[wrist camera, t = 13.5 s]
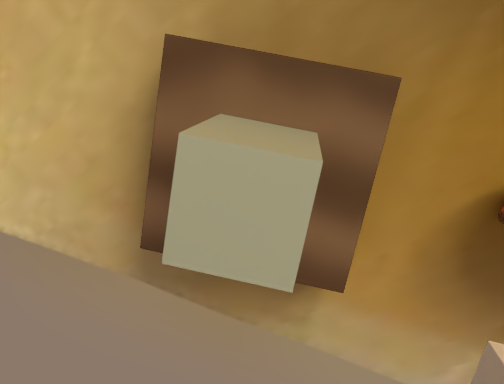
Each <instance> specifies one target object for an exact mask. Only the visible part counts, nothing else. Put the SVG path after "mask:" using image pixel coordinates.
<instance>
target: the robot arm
mask: <svg viewBox="0 0 504 384" xmlns="http://www.w3.org/2000/svg"><path fill="white" fill-rule="evenodd" d="M471 384H504V344H501V343H497V342H492V341H488V342H487V344H486V347H485V349H484V352H483V354H482V357H481V359H480V362H479V364H478V367H477V370H476V372H475V375H474V377H473V380H472V382H471Z"/></svg>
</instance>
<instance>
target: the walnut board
mask: <svg viewBox="0 0 504 384" xmlns="http://www.w3.org/2000/svg"><path fill="white" fill-rule="evenodd" d="M400 82H401V78H400V77H395V76H389V75H384V74H379V73H373V72H368V71H363V70H357V69H352V68H347V67H341V66H336V65H330V64H325V63H320V62H314V61H309V60H304V59H298V58H293V57H288V56H282V55H277V54H272V53H266V52H261V51H255V50H250V49H245V48H239V47H234V46H229V45H223V44H218V43H213V42H207V41H202V40H197V39H191V38H186V37H181V36H175V35H170V34H165V39H164V48H163V57H162V65H161V74H160V82H159V91H158V100H157V108H156V117H155V125H154V134H153V142H152V151H151V160H150V168H149V177H148V185H147V194H146V203H145V211H144V220H143V228H142V237H141V245H140V248H142V249H146V250H151V251H155V252H160V253H163V249H164V242H165V234H166V227H167V219H168V212H169V204H170V197H171V189H172V182H173V174H174V167H175V159H176V152H177V144H178V137H179V133H180V132H182V131H184V130H186V129H188V128H191V127H193V126H195V125H197V124H199V123H201V122H204V121H206V120H208V119H210V118H212V117H214V116H217V115H219V114H224V115H229V116H235V117H240V118H245V119H250V120H255V121H260V122H265V123H270V124H275V125H280V126H285V127H290V128H295V129H300V130H305V131H310V132H315V133H317V134H318V139H319V144H320V149H321V154H322V159H323V164H322V169H321V173H320V177H319V182H318V186H317V190H316V194H315V199H314V203H313V207H312V212H311V216H310V220H309V224H308V229H307V233H306V237H305V242H304V246H303V250H302V254H301V259H300V263H299V267H298V272H297V276H296V280H295V283H300V284H304V285H309V286H313V287H318V288H322V289H327V290H331V291H336V292H340V293H343V292H344V289H345V285H346V281H347V278H348V274H349V270H350V266H351V263H352V259H353V255H354V252H355V248H356V244H357V241H358V237H359V233H360V230H361V226H362V222H363V218H364V215H365V211H366V207H367V204H368V200H369V196H370V193H371V189H372V185H373V182H374V178H375V174H376V170H377V167H378V163H379V159H380V156H381V152H382V148H383V145H384V141H385V137H386V134H387V130H388V126H389V122H390V119H391V115H392V111H393V108H394V104H395V100H396V97H397V93H398V89H399V86H400Z"/></svg>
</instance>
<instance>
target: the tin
mask: <svg viewBox="0 0 504 384" xmlns="http://www.w3.org/2000/svg"><path fill="white" fill-rule="evenodd" d="M498 220H499V221H500V222H502V223H503V224H504V205H503V207H502V208H501V210H500V211H499V213H498Z"/></svg>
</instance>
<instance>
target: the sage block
mask: <svg viewBox="0 0 504 384" xmlns="http://www.w3.org/2000/svg"><path fill="white" fill-rule="evenodd" d="M322 164H323V159H322V154H321V149H320V144H319V139H318V134H317V133H315V132H310V131H305V130H300V129H295V128H290V127H285V126H280V125H275V124H270V123H265V122H260V121H255V120H250V119H245V118H240V117H235V116H229V115H224V114H219V115H217V116H214V117H212V118H210V119H208V120H206V121H204V122H201V123H199V124H197V125H195V126H193V127H191V128H188V129H186V130H184V131H182V132H180V133H179V137H178V144H177V152H176V159H175V167H174V174H173V182H172V189H171V197H170V204H169V212H168V219H167V227H166V234H165V242H164V249H163V257H162V264H166V265H170V266H175V267H179V268H184V269H188V270H192V271H197V272H201V273H206V274H210V275H215V276H219V277H224V278H228V279H233V280H237V281H242V282H246V283H251V284H255V285H260V286H264V287H269V288H273V289H278V290H282V291H287V292H291V293H293V289H294V284H295V280H296V276H297V272H298V267H299V263H300V259H301V254H302V250H303V246H304V242H305V237H306V233H307V229H308V224H309V220H310V216H311V212H312V207H313V203H314V199H315V194H316V190H317V186H318V182H319V177H320V173H321V169H322Z"/></svg>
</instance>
